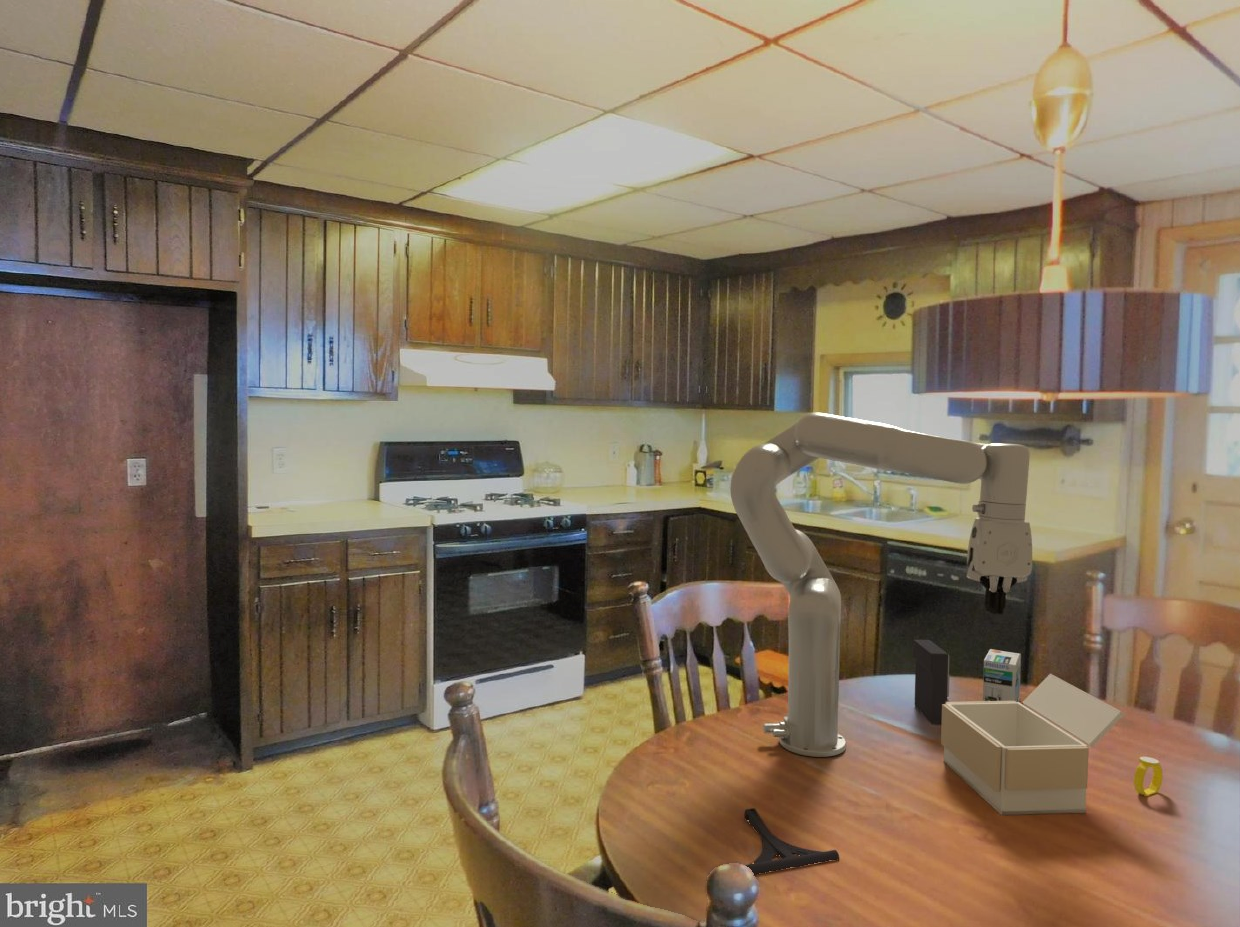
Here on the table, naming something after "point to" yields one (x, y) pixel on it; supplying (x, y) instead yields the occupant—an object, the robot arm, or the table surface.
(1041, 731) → the carton
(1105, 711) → the carton flap
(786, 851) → the black squeegee
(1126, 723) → the table surface
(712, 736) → the table surface
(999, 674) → the light bulb box
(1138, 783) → the watch
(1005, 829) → the table surface
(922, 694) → the black rectangular block
